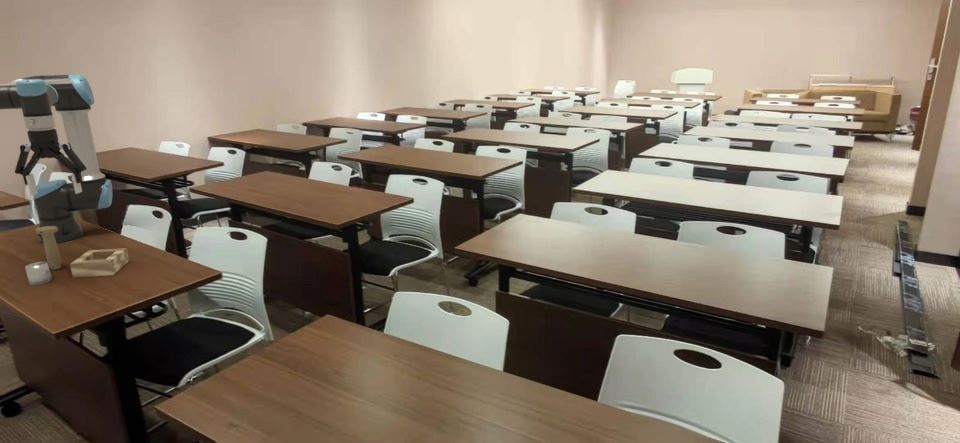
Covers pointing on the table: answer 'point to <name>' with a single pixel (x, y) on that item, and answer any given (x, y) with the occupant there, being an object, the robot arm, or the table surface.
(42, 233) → the handle
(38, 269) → the round plug
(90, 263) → the socket block
